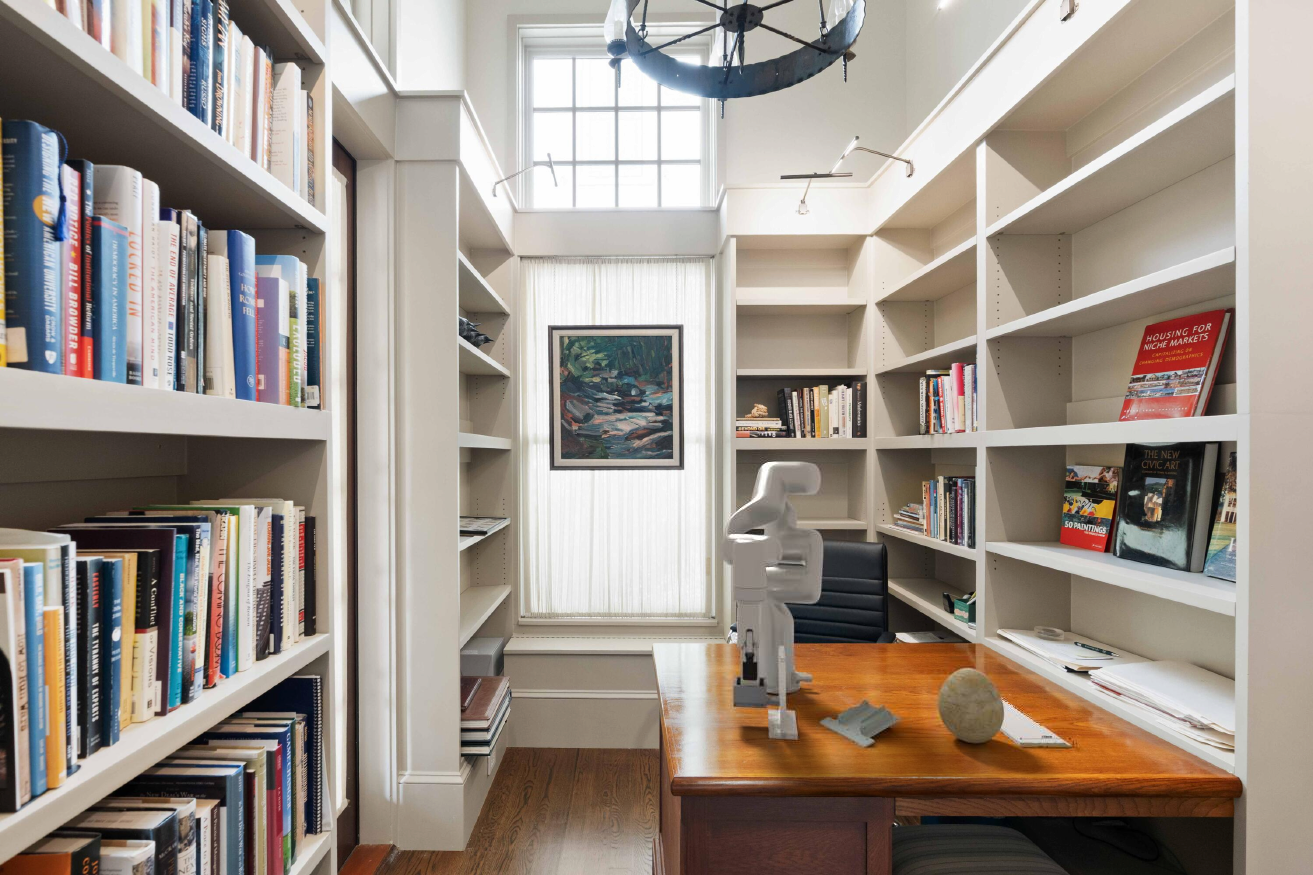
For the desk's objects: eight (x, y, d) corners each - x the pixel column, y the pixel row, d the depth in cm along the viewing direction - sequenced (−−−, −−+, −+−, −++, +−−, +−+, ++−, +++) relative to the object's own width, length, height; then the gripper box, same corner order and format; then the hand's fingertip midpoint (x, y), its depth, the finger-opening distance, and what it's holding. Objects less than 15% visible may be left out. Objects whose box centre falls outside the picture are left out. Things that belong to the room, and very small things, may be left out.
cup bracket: (794, 715, 161) (794, 645, 161) (797, 739, 147) (797, 662, 148) (735, 712, 163) (735, 643, 163) (732, 735, 149) (732, 660, 150)
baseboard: (1005, 699, 174) (957, 699, 174) (1005, 688, 174) (956, 688, 174) (1079, 749, 143) (1020, 749, 143) (1078, 735, 143) (1019, 735, 143)
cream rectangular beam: (759, 694, 157) (758, 645, 158) (759, 700, 153) (758, 649, 154) (741, 693, 158) (741, 644, 158) (740, 699, 154) (740, 649, 155)
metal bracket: (861, 691, 162) (909, 711, 148) (867, 714, 162) (915, 737, 148) (812, 717, 156) (857, 741, 142) (819, 741, 156) (864, 768, 143)
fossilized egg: (1016, 743, 145) (1015, 670, 146) (983, 758, 138) (982, 681, 138) (959, 725, 155) (958, 657, 156) (926, 737, 148) (924, 666, 148)
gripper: (734, 587, 166) (734, 664, 165) (731, 600, 149) (731, 686, 148) (766, 587, 164) (767, 665, 164) (767, 602, 147) (767, 688, 147)
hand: (750, 674), depth 156 cm, fingers open, 5 cm apart
